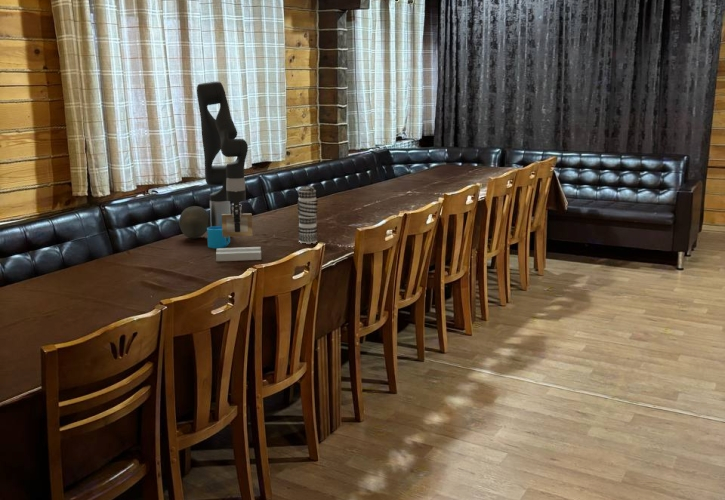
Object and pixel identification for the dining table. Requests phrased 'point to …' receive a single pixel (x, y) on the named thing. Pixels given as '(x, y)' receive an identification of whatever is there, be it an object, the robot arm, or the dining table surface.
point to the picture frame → (229, 226)
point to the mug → (216, 237)
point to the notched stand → (238, 254)
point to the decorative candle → (307, 215)
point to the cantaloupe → (194, 222)
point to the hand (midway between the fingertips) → (237, 230)
